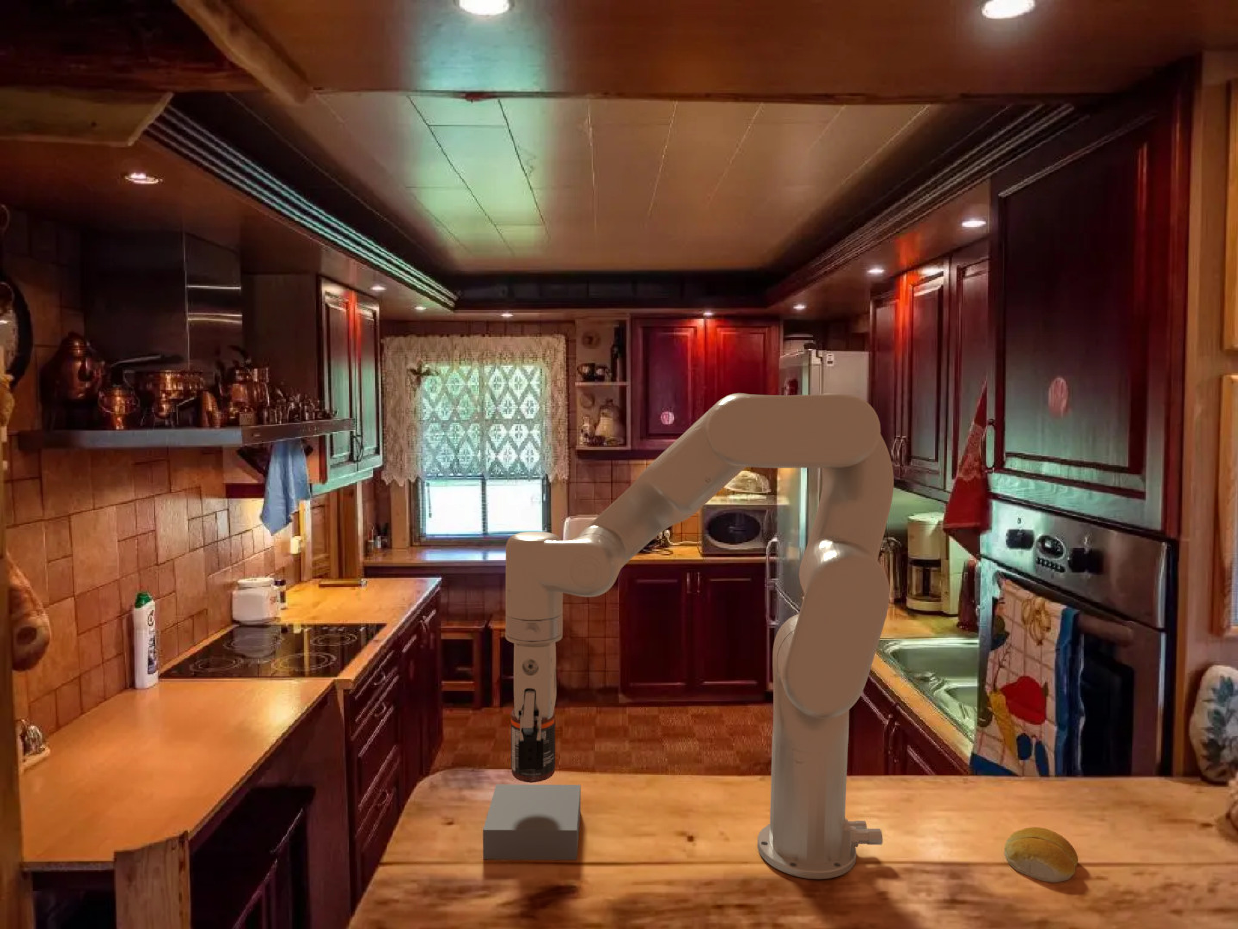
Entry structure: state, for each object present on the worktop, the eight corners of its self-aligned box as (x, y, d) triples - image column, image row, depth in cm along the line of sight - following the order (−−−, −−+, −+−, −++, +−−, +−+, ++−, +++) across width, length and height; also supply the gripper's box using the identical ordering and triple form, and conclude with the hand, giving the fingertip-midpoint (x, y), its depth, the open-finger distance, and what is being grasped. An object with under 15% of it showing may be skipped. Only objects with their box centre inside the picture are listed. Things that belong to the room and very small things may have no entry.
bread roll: (1080, 858, 108) (1082, 829, 107) (1070, 892, 100) (1073, 861, 100) (1011, 837, 112) (1012, 809, 112) (997, 869, 105) (999, 839, 105)
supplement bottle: (528, 760, 115) (529, 681, 114) (564, 770, 112) (564, 690, 111) (501, 777, 110) (501, 695, 109) (537, 789, 107) (538, 704, 106)
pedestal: (580, 811, 118) (580, 785, 117) (576, 860, 106) (576, 830, 105) (496, 811, 118) (496, 784, 117) (483, 859, 106) (482, 830, 105)
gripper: (558, 647, 100) (556, 788, 102) (566, 608, 117) (565, 730, 119) (496, 646, 100) (496, 788, 102) (513, 608, 117) (513, 729, 119)
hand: (533, 755), depth 111 cm, fingers closed on supplement bottle, 6 cm apart
